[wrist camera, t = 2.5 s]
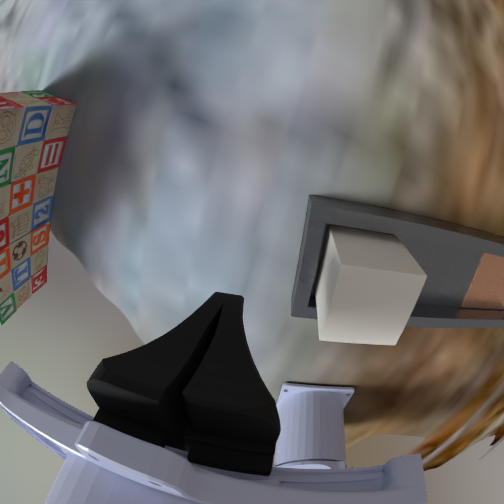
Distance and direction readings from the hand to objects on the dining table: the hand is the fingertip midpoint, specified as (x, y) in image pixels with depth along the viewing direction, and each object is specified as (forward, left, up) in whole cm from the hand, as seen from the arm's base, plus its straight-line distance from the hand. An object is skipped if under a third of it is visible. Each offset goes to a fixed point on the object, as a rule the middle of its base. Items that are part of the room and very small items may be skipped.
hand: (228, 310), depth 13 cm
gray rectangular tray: (0, -16, -8) cm, 17 cm away
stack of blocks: (+2, +23, -8) cm, 24 cm away
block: (0, -8, -8) cm, 11 cm away
